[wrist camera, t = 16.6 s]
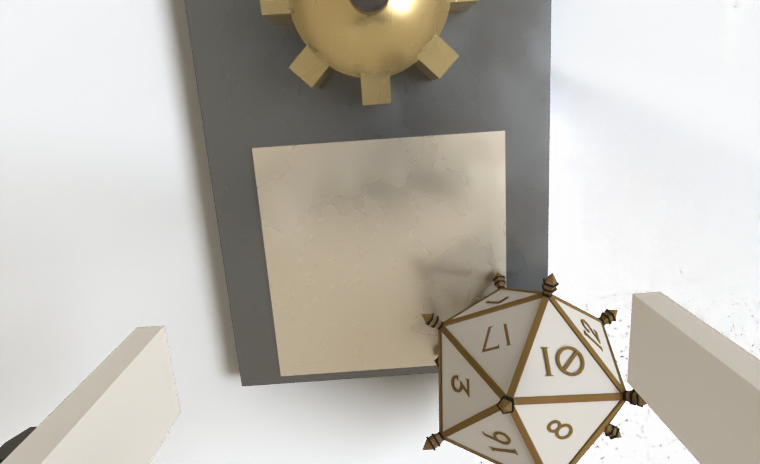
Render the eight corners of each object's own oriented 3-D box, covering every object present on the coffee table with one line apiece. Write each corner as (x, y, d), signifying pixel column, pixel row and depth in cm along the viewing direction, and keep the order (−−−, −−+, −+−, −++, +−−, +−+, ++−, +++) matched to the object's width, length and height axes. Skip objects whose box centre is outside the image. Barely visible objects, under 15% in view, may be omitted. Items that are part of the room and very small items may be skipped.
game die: (351, 389, 24) (525, 491, 25) (380, 454, 16) (640, 604, 17) (446, 226, 25) (609, 330, 26) (520, 207, 17) (754, 361, 18)
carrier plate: (177, -110, 21) (123, -170, 17) (543, -135, 21) (592, -202, 17) (247, 373, 27) (221, 432, 22) (538, 353, 27) (575, 408, 22)
